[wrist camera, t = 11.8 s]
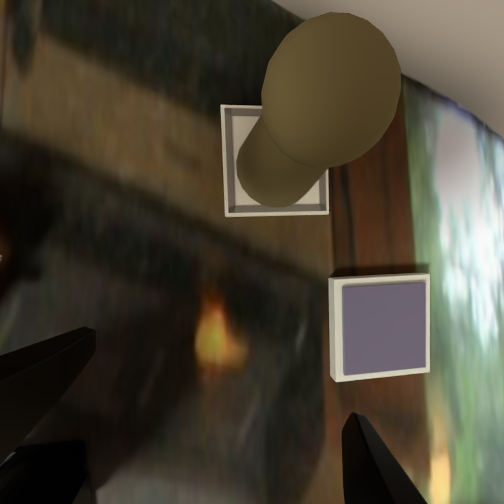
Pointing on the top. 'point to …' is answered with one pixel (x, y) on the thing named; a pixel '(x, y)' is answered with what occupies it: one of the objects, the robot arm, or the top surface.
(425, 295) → the ink pad
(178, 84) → the top surface
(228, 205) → the white flat square piece
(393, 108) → the brown peg figure
